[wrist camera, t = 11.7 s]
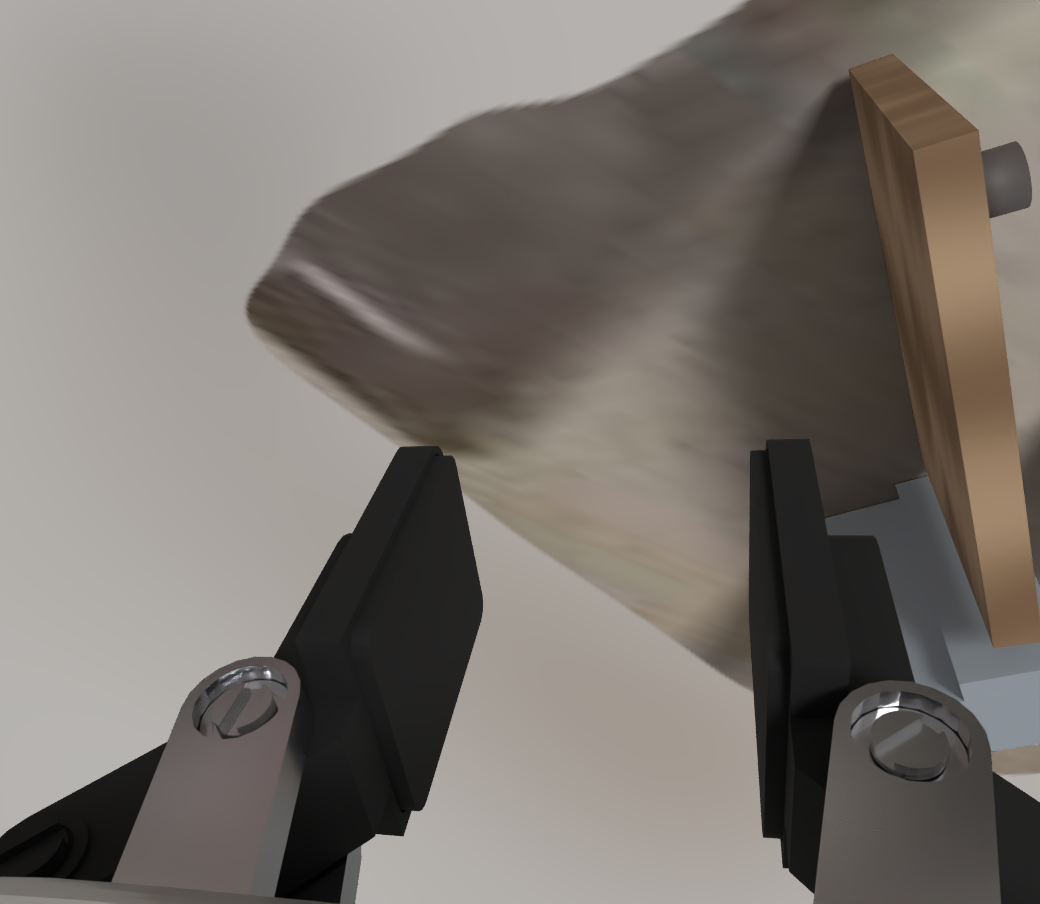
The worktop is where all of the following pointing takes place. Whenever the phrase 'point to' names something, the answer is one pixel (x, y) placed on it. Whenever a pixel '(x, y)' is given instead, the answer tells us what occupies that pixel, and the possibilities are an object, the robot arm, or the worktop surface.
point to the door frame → (948, 617)
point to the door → (954, 324)
